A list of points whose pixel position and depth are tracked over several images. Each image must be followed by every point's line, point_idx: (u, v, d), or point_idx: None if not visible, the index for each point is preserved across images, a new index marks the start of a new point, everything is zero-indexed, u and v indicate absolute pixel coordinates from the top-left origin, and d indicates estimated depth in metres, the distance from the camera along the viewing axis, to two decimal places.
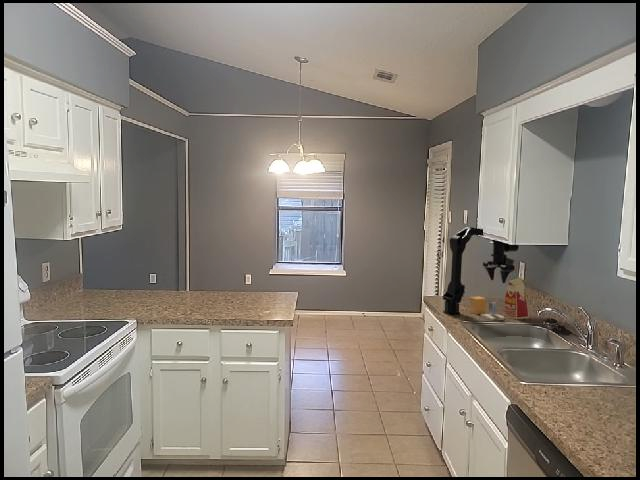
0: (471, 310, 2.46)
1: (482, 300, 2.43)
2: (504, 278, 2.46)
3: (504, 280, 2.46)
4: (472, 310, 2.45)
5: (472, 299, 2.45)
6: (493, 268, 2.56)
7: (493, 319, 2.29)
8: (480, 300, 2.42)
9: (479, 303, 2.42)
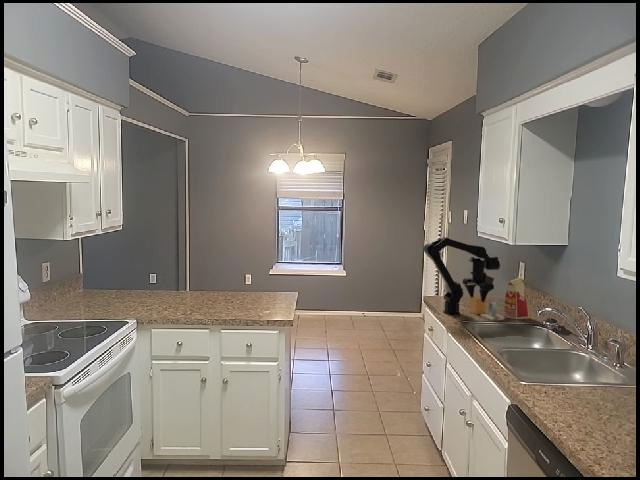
0: (471, 310, 2.46)
1: None
2: (483, 297, 2.39)
3: (483, 299, 2.40)
4: (472, 310, 2.45)
5: (472, 299, 2.45)
6: (473, 286, 2.49)
7: (493, 319, 2.29)
8: (480, 300, 2.42)
9: (479, 303, 2.42)
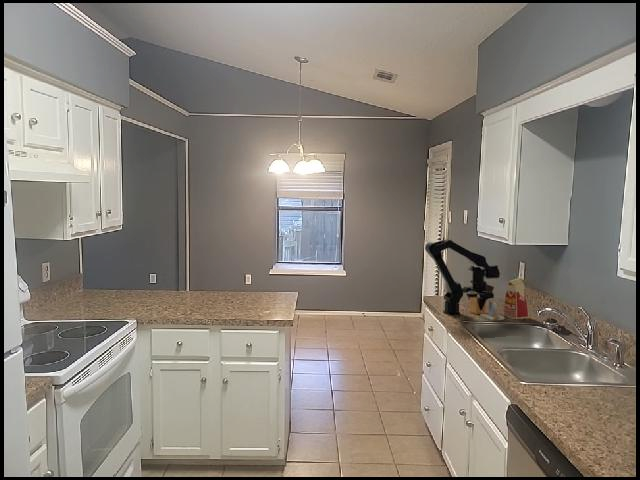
0: (471, 310, 2.46)
1: None
2: (481, 305, 2.41)
3: (481, 307, 2.42)
4: (472, 310, 2.45)
5: (472, 299, 2.45)
6: (475, 295, 2.48)
7: (493, 319, 2.29)
8: None
9: None
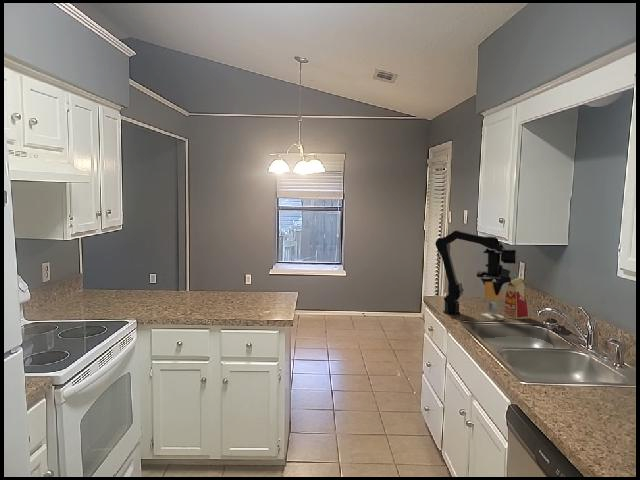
0: (486, 295, 2.33)
1: None
2: (497, 290, 2.29)
3: (497, 292, 2.30)
4: (487, 295, 2.33)
5: (487, 284, 2.32)
6: (490, 280, 2.36)
7: (493, 319, 2.29)
8: None
9: None
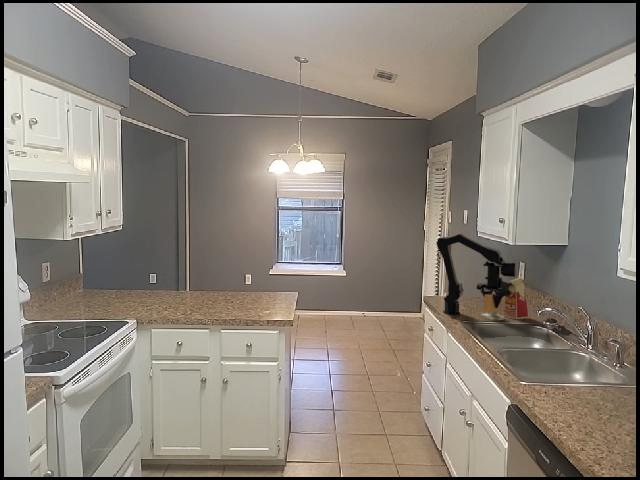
0: (486, 308, 2.34)
1: None
2: (497, 303, 2.30)
3: (497, 305, 2.30)
4: (487, 308, 2.33)
5: (487, 296, 2.33)
6: (490, 292, 2.37)
7: (493, 319, 2.29)
8: None
9: None
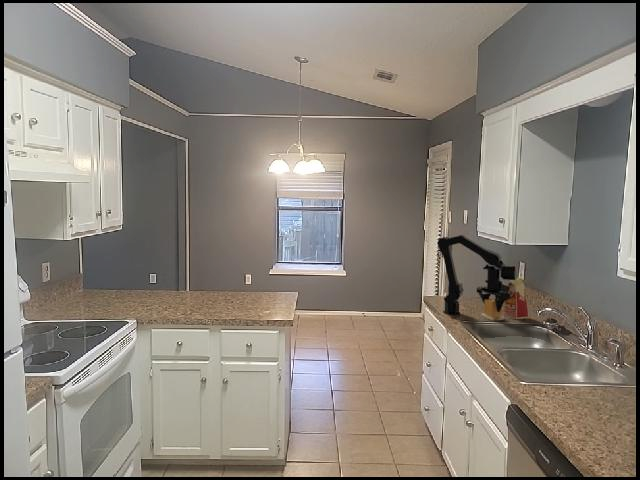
0: (486, 313, 2.34)
1: None
2: (499, 307, 2.28)
3: (499, 309, 2.29)
4: (487, 313, 2.33)
5: (487, 302, 2.33)
6: (488, 295, 2.38)
7: (493, 319, 2.29)
8: None
9: (494, 306, 2.31)
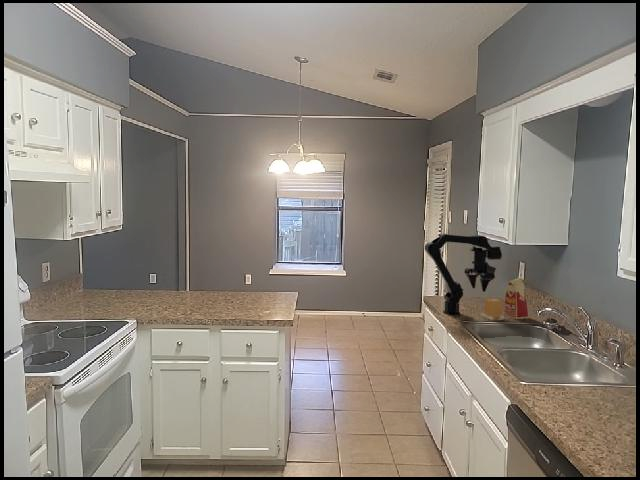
0: (486, 313, 2.34)
1: (498, 303, 2.31)
2: (484, 286, 2.38)
3: (484, 288, 2.38)
4: (487, 313, 2.33)
5: (487, 302, 2.33)
6: (475, 276, 2.48)
7: (493, 319, 2.29)
8: (496, 303, 2.31)
9: (494, 306, 2.31)
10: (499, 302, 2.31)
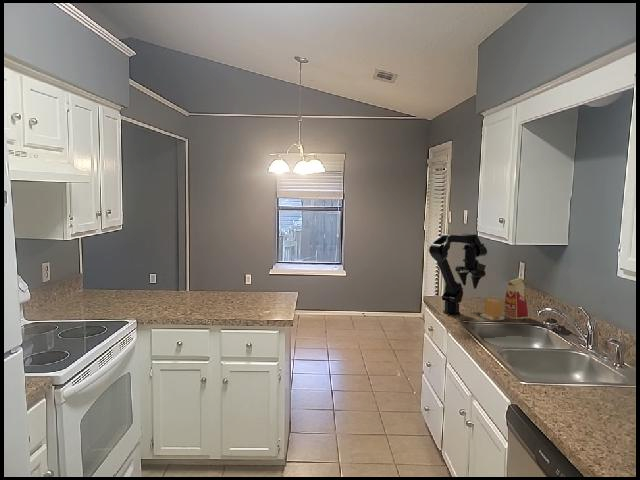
0: (486, 313, 2.34)
1: (498, 303, 2.31)
2: (475, 283, 2.45)
3: (475, 285, 2.46)
4: (487, 313, 2.33)
5: (487, 302, 2.33)
6: (465, 273, 2.56)
7: (493, 319, 2.29)
8: (496, 303, 2.31)
9: (494, 306, 2.31)
10: (499, 302, 2.31)
